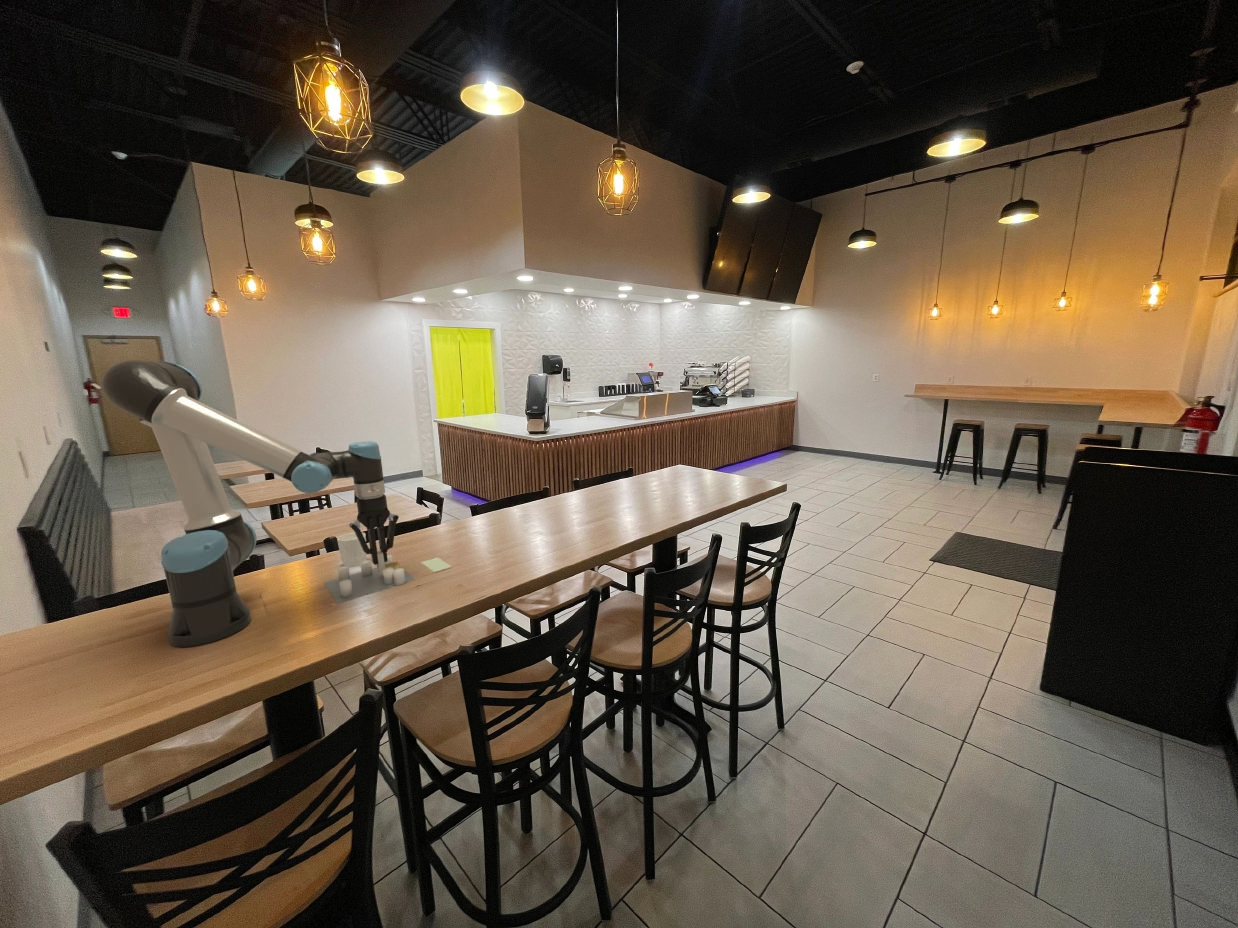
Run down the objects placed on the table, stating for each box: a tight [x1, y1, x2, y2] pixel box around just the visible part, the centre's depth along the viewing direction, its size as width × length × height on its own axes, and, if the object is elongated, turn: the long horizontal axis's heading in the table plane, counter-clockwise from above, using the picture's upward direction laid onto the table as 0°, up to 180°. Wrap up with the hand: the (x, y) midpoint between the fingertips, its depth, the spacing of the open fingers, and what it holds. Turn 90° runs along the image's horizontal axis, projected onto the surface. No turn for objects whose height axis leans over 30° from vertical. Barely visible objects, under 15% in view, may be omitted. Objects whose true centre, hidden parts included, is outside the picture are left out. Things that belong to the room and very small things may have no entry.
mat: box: [420, 557, 453, 574], centre depth 147 cm, size 12×11×1 cm
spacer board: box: [322, 554, 416, 604], centre depth 136 cm, size 20×18×5 cm
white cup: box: [336, 531, 368, 568], centre depth 150 cm, size 8×8×10 cm
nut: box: [385, 561, 402, 569], centre depth 140 cm, size 4×5×3 cm
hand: (381, 573), depth 138 cm, fingers closed
